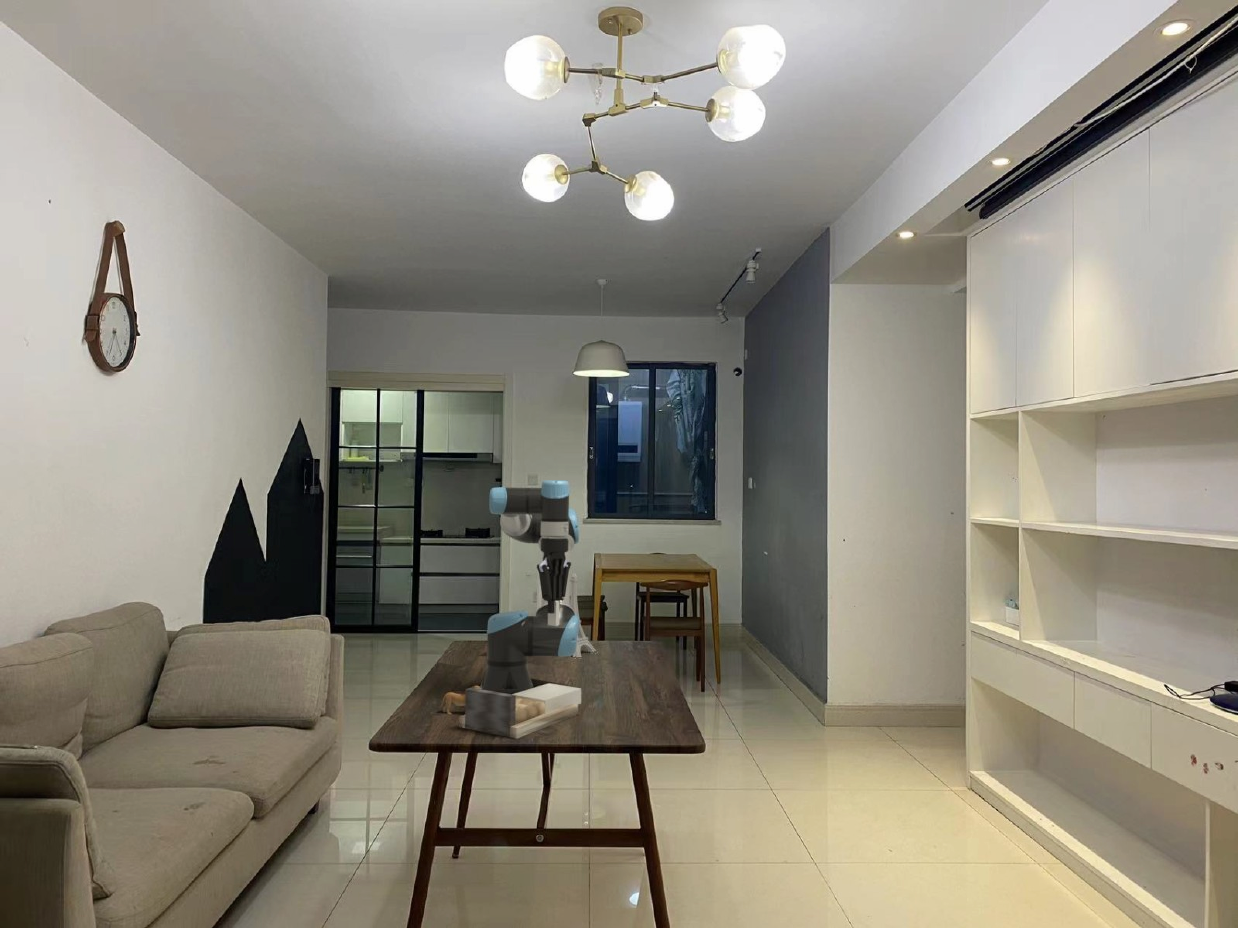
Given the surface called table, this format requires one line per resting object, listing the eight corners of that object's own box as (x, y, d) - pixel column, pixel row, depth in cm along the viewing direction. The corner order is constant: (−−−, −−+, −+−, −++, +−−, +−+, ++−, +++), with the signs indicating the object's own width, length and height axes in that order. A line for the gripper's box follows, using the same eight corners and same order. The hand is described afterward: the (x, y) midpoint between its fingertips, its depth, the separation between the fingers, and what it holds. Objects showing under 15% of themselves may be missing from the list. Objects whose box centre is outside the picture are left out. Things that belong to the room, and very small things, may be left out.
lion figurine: (483, 712, 223) (483, 684, 223) (480, 716, 219) (481, 687, 219) (437, 711, 223) (438, 683, 223) (434, 716, 218) (435, 687, 219)
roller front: (491, 704, 214) (487, 720, 213) (481, 701, 211) (477, 717, 210) (529, 711, 208) (525, 727, 207) (519, 708, 205) (515, 725, 204)
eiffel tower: (578, 660, 294) (579, 574, 295) (547, 656, 301) (548, 571, 302) (598, 654, 306) (599, 571, 307) (568, 650, 313) (569, 569, 314)
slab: (511, 709, 221) (511, 694, 222) (548, 697, 235) (548, 683, 235) (545, 716, 215) (545, 700, 216) (581, 703, 229) (581, 688, 229)
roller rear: (499, 696, 219) (509, 694, 222) (498, 712, 218) (508, 710, 222) (536, 703, 212) (545, 701, 215) (535, 719, 212) (545, 717, 215)
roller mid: (501, 698, 218) (500, 713, 218) (490, 701, 214) (490, 717, 214) (537, 704, 211) (537, 721, 211) (527, 708, 208) (527, 724, 208)
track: (458, 727, 208) (459, 688, 209) (523, 705, 230) (523, 670, 231) (516, 738, 199) (517, 698, 199) (578, 714, 221) (578, 678, 221)
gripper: (551, 538, 221) (550, 629, 220) (579, 537, 232) (578, 623, 231) (528, 537, 225) (527, 627, 224) (557, 536, 236) (556, 621, 235)
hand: (553, 625), depth 227 cm, fingers closed
